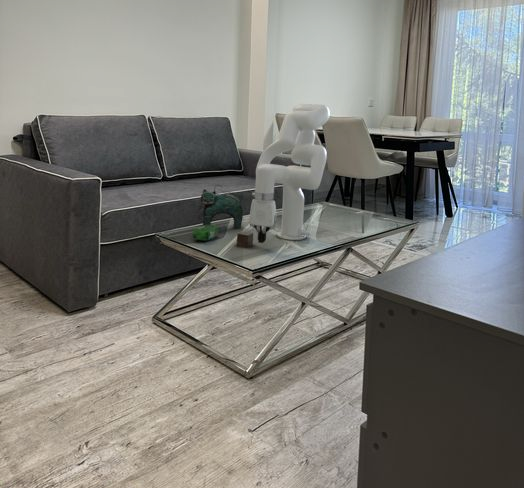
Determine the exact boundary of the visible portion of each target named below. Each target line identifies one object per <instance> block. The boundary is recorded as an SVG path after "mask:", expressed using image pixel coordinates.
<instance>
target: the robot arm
mask: <svg viewBox="0 0 524 488" xmlns="http://www.w3.org/2000/svg"><path fill="white" fill-rule="evenodd" d="M330 113H331V112H330V109H329V107H328V105H325V104H317V103H316V104H313V103H298V104H295V105H294V106H293V108H292V110H289V111H288V112H286V114H285V116H284V118H283V120H282V124H281V126H280V129H279V132H278V135H277V138H276V139H275V141H274V142H272V143H271V144H269V146H267V147H266V148H265V149H264V150H263V152H262V153H261V154H260V156H259V159H258V162H257V164H256V168H255V188H254V192H252V193H251V196H252V197H253V199H252V201H251V205H250V210H249V219H248V223H249V226H250V227H252V228H254V229H255V230H256V233H257V241H258V244H260V243H261V244H264V243H265V242H266V240H267V233H268V232H269V231H271V230H275V229H276V227H277V226H276V224H277V207H276V200H274V199H275V198H274V196H275V184H279V185H281V184H282V206H281V207H282V208H281V223H280V225H281V226H280V231H278V232H277V233H276V236H277V237H278V238H280V239H284V240H287V241H288V240H290V241H301V240H305V239H306V238H307V237H311V236H312V235H313V234H312V233H313V232H312V231H311V230H307V229H306V227H305V226H304V211H305V194H304V192H303V191H302V189H303V190H308V191H315V190H317V189H318V188H319V187H320V185H321V183H322V179H323V174H324V171H325V167H326V164H327V158H328V157H327V156H328V154H327V149H326V148H325V146H323V145H320V144H315V140H316V133H315V131H316V130H318V129H319V128H321V127H322V126H325V124H326V123H327V122H328V121H329V120H330V115H331V114H330ZM290 151H291V155H290V159H291V161H292V163H294V164H296V165H287V166H286V165H281V164H275V163H271V162H272V160H273V159H275V158H276V157H277V156H279V155H281V154H284V153H286V152H290ZM308 166H310V167H308ZM306 236H307V237H306Z"/></svg>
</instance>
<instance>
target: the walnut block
mask: <svg viewBox="0 0 524 488" xmlns="http://www.w3.org/2000/svg"><path fill="white" fill-rule="evenodd" d="M253 244H254V232H251V231H245V230H242V231H240V232H237V233H236V246H237V247H242V248H246V249H247V248H250V247H252V246H253Z"/></svg>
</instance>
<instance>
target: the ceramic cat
mask: <svg viewBox="0 0 524 488" xmlns="http://www.w3.org/2000/svg"><path fill="white" fill-rule="evenodd" d="M217 187H221V188H222V189H223V188H224V187H223V186H222V185H220V184H217V185H215V186H214V191H211V190H206V188H204V189H203V190H202V193H201V195H200V202H201V204H203V205H204V207H203V213H202V226H204V225H212V224H211V223H212V221H213V219H214V218H215V217H216V215H219V214H225V215H229V216H230V217H231V218H232V219H233V228H234V229H241V228H242V223H243V218H244V217H243V216H244V208H243V206H242V199H241V197H240V196H239V194H238V193H236V192H232V191H231V192H230V191H229V192H224V193H219V194H218V193H216V188H217ZM236 196H237V197H236Z"/></svg>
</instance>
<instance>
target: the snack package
mask: <svg viewBox="0 0 524 488" xmlns="http://www.w3.org/2000/svg"><path fill="white" fill-rule="evenodd" d="M219 229H220V228H219V226H218V225H215V224H210V225H204V226H203V225H202V226H199V227H197V228H195V229H194V230H193V232H192V237H193V239H194V240H195V241H203V242H206V241H210V240H212V239H214V238H216V237H217V236H218V234H219Z"/></svg>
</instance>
